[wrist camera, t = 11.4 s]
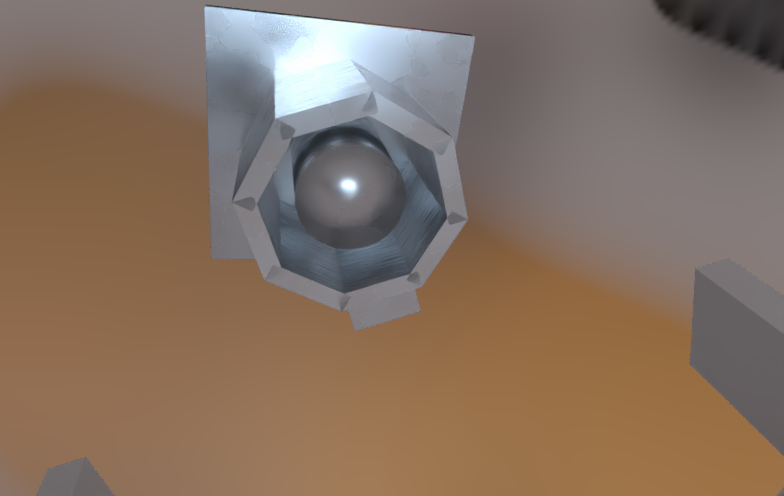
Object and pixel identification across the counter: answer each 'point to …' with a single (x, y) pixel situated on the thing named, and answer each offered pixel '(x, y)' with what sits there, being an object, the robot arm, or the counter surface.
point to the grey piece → (364, 265)
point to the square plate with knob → (329, 145)
